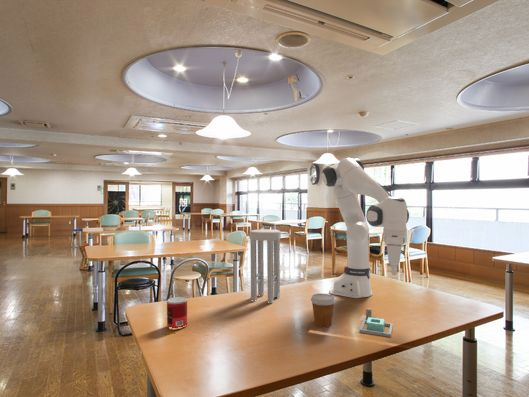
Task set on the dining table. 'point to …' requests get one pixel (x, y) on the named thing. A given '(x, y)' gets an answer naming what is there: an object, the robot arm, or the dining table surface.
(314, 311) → the disposable coffee cup
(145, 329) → the dining table surface
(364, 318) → the stake
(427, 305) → the dining table surface
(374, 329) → the ring
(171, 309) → the canned food
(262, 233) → the stool
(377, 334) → the tray
